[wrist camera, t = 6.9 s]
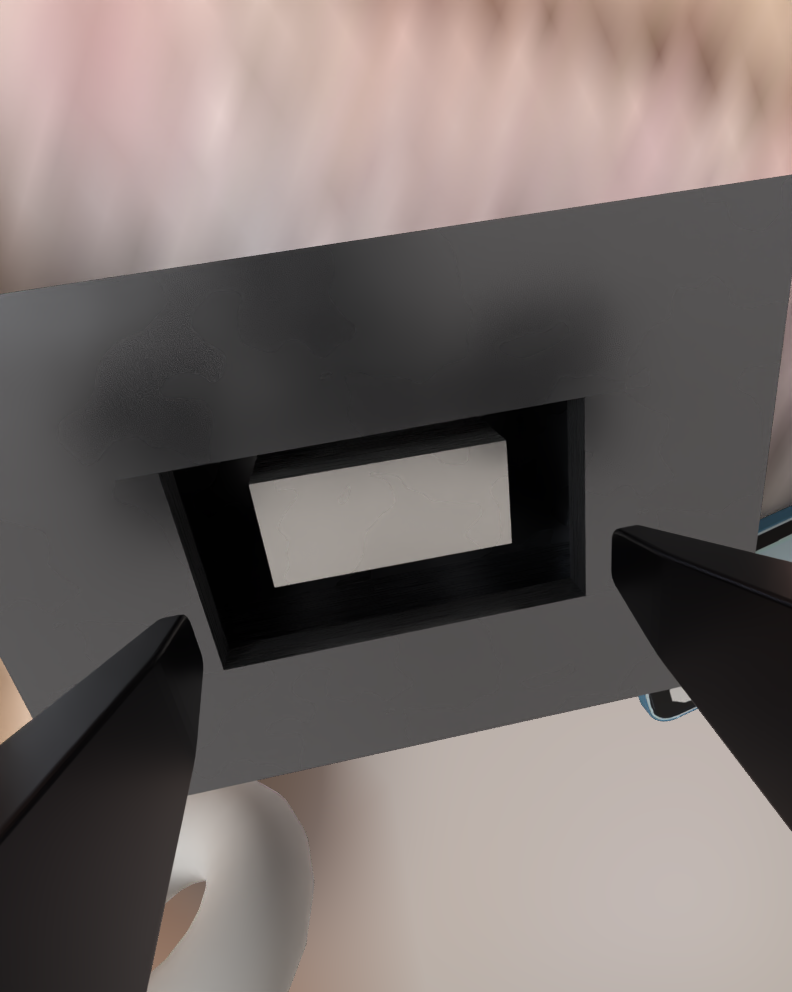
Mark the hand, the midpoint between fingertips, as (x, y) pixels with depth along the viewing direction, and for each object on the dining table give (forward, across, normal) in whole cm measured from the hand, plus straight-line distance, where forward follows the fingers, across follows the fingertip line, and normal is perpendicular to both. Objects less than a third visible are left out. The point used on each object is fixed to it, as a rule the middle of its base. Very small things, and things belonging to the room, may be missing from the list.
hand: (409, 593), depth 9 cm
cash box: (+9, 0, 0) cm, 9 cm away
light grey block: (+8, 0, 0) cm, 8 cm away
